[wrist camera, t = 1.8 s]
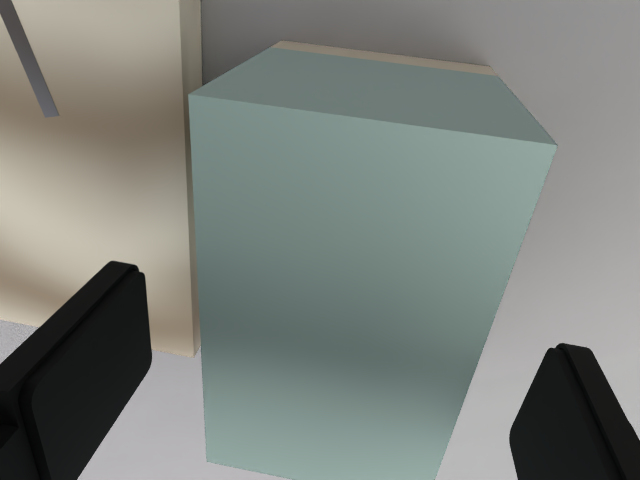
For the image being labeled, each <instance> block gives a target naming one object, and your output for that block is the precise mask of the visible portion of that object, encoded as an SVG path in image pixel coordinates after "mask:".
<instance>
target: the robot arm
mask: <svg viewBox="0 0 640 480" xmlns="http://www.w3.org/2000/svg"><path fill="white" fill-rule="evenodd" d="M151 361H152V350H151V338H150V326H149V315H148V303H147V291H146V279H145V275H144V273H143V272H139V268H138V266H137V265H135V264H129V263H124V262H118V261H110V262H108V263H107V264H106V265H105V266H104V267H103V268H102V269H101V270H100V271H99V272H97V273H96V274H95V275H94V276H93V277H92V278H91V279H90V280H89V281H88V282H87V283H86V284H85V285H84V286H83V287H82V288H81V289H79V290H78V291H77V292H76V293H75V294H74V295H73V296H72V297H71V298H70V299H69V300H68V301H67V302H66V303H65V304H64V305H62V306H61V307H60V308H59V309H58V310H57V311H56V312H55V313H54V314H53V315H52V316H51V317H50V318H49V319H48V320H47V321H46V322H44V323H43V324H42V325H41V326H40V327H39V328H38V329H37V330H36V331H35V332H34V333H33V334H32V335H31V336H30V337H29V338H28V339H26V340H25V341H24V342H23V343H22V344H21V345H20V346H19V347H18V348H17V349H16V350H15V351H14V352H13V353H12V354H11V355H9V356H8V357H7V358H6V359H5V360H4V361H3V362H2V363H1V364H0V480H77V479H78V477H79V476H80V474H81V473H82V471H83V470H84V468H85V467H86V465H87V463H88V462H89V460H90V459H91V457H92V456H93V454H94V453H95V451H96V450H97V448H98V447H99V445H100V444H101V442H102V441H103V439H104V438H105V436H106V435H107V433H108V432H109V430H110V428H111V427H112V425H113V424H114V422H115V421H116V419H117V418H118V416H119V415H120V413H121V412H122V410H123V409H124V407H125V406H126V404H127V403H128V401H129V400H130V398H131V397H132V395H133V394H134V392H135V390H136V389H137V387H138V386H139V384H140V383H141V381H142V380H143V378H144V377H145V375H146V374H147V372H148V370H149V368H150V365H151ZM509 441H510V448H511V452H512V456H513V460H514V465H515V469H516V473H517V477H518V480H640V440H639V438H638V436H637V435H636V433H635V431H634V429H633V427H632V426H631V424H630V423H629V421H628V420H627V418H626V416H625V414H624V412H623V410H622V408H621V406H620V404H619V402H618V400H617V398H616V396H615V395H614V393H613V391H612V389H611V387H610V385H609V383H608V381H607V379H606V377H605V375H604V373H603V372H602V370H601V368H600V366H599V364H598V362H597V360H596V358H595V356H594V354H593V352H592V351H591V350H590V349H589V348H586V347H581V346H575V345H570V344H565V343H560V344H558V345H557V346H556V348H549V349H548V350H547V352H546V354H545V356H544V358H543V360H542V363H541V365H540V367H539V369H538V371H537V373H536V375H535V378H534V380H533V382H532V384H531V386H530V388H529V391H528V393H527V395H526V397H525V399H524V401H523V403H522V406H521V408H520V410H519V412H518V414H517V416H516V419H515V421H514V423H513V425H512V427H511V430H510V437H509Z"/></svg>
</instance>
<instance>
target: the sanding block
mask: <svg viewBox="0 0 640 480" xmlns="http://www.w3.org/2000/svg"><path fill="white" fill-rule="evenodd" d="M188 100H189V120H190V139H191V159H192V179H193V199H194V219H195V239H196V259H197V279H198V299H199V319H200V339H201V359H202V378H203V398H204V418H205V438H206V458H207V462H211V463H215V464H220V465H225V466H230V467H235V468H239V469H244V470H249V471H254V472H259V473H263V474H268V475H273V476H278V477H283V478H287V479H292V480H435V478H436V475H437V473H438V470H439V467H440V465H441V462H442V459H443V456H444V454H445V451H446V448H447V446H448V443H449V440H450V437H451V435H452V432H453V429H454V426H455V424H456V421H457V418H458V416H459V413H460V410H461V407H462V405H463V402H464V399H465V397H466V394H467V391H468V388H469V386H470V383H471V380H472V378H473V375H474V372H475V369H476V367H477V364H478V361H479V358H480V356H481V353H482V350H483V348H484V345H485V342H486V339H487V337H488V334H489V331H490V329H491V326H492V323H493V320H494V318H495V315H496V312H497V310H498V307H499V304H500V301H501V299H502V296H503V293H504V290H505V288H506V285H507V282H508V280H509V277H510V274H511V271H512V269H513V266H514V263H515V261H516V258H517V255H518V252H519V250H520V247H521V244H522V241H523V239H524V236H525V233H526V231H527V228H528V225H529V222H530V220H531V217H532V214H533V212H534V209H535V206H536V203H537V201H538V198H539V195H540V193H541V190H542V187H543V184H544V182H545V179H546V176H547V173H548V171H549V168H550V165H551V163H552V160H553V157H554V154H555V152H556V149H557V146H558V145H557V144H556V143H555V141H554V140H553V139H552V138H551V137H550V136H549V134H548V133H547V132H546V131H545V130H544V129H543V127H542V126H541V125H540V124H539V123H538V122H537V120H536V119H535V118H534V117H533V116H532V115H531V113H530V112H529V111H528V110H527V109H526V108H525V107H524V105H523V104H522V103H521V102H520V101H519V100H518V98H517V97H516V96H515V95H514V94H513V93H512V91H511V90H510V89H509V88H508V87H507V86H506V84H505V83H504V82H503V81H502V80H501V79H500V78H499V76H498V75H497V74H496V73H495V72H494V71H493V69H492V68H491V67H490V66H483V65H475V64H467V63H459V62H451V61H443V60H435V59H427V58H419V57H411V56H403V55H395V54H387V53H379V52H371V51H363V50H355V49H347V48H339V47H331V46H323V45H315V44H307V43H299V42H291V41H283V40H281V41H280V42H278V43H276V44H275V45H273V46H271V47H269V48H268V49H266V50H264V51H262V52H261V53H259V54H257V55H256V56H254V57H252V58H250V59H249V60H247V61H245V62H243V63H242V64H240V65H238V66H236V67H235V68H233V69H231V70H230V71H228V72H226V73H224V74H223V75H221V76H219V77H217V78H216V79H214V80H212V81H211V82H209V83H207V84H205V85H204V86H202V87H200V88H198V89H197V90H195V91H193V92H191V93H190V94H188Z"/></svg>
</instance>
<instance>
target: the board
mask: <svg viewBox="0 0 640 480" xmlns="http://www.w3.org/2000/svg"><path fill="white" fill-rule="evenodd" d="M200 87H202V44H201V0H0V320H5V321H10V322H15V323H20V324H25V325H30V326H35V327H40V326H41V325H42V324H43V323H44V322H46V321H47V320H48V319H49V318H50V317H51V316H52V315H53V314H54V313H55V312H56V311H57V310H58V309H59V308H60V307H61V306H62V305H64V304H65V303H66V302H67V301H68V300H69V299H70V298H71V297H72V296H73V295H74V294H75V293H76V292H77V291H78V290H79V289H81V288H82V287H83V286H84V285H85V284H86V283H87V282H88V281H89V280H90V279H91V278H92V277H93V276H94V275H95V274H96V273H97V272H99V271H100V270H101V269H102V268H103V267H104V266H105V265H106V264H107V263H108V262H110V261H118V262H124V263H129V264H135V265H137V266H138V268H139V272H143V273H144V275H145V279H146V291H147V303H148V315H149V326H150V338H151V350H156V351H161V352H166V353H171V354H176V355H181V356H186V357H191V358H194V357H195V355H196V353H197V351H198V349H199V348H200V346H201V339H200V319H199V299H198V279H197V259H196V239H195V219H194V199H193V179H192V159H191V139H190V120H189V100H188V94H190V93H191V92H193V91H195V90H197V89H198V88H200Z"/></svg>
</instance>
